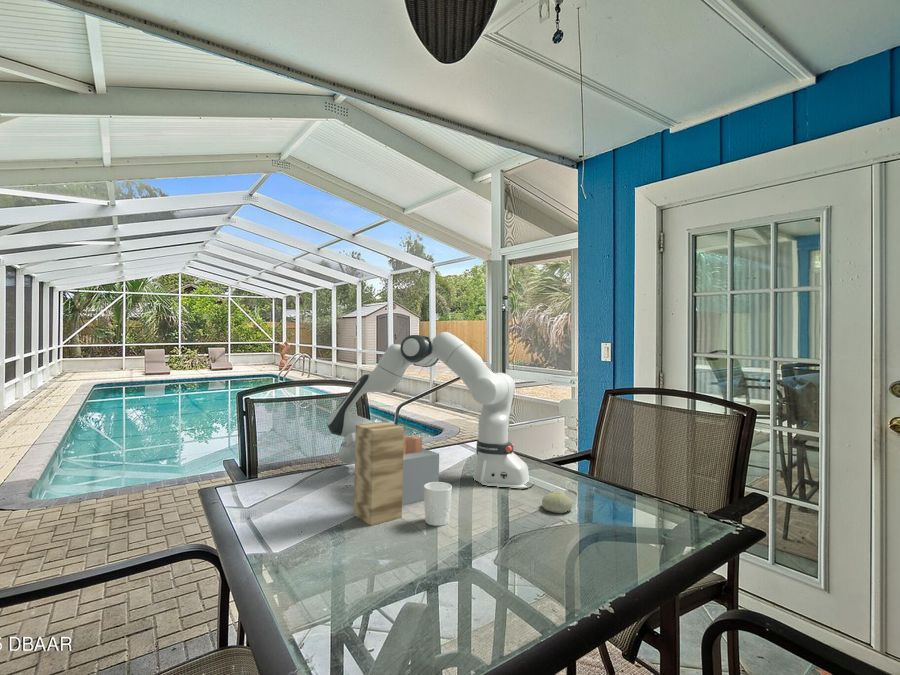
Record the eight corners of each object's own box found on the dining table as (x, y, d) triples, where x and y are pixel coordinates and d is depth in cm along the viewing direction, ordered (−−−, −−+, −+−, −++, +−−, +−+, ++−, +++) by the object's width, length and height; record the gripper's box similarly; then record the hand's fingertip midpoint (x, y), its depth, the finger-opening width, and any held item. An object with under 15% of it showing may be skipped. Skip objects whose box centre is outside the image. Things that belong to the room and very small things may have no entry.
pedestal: (401, 517, 136) (403, 426, 136) (371, 525, 130) (373, 430, 130) (383, 507, 144) (385, 421, 144) (353, 514, 137) (355, 424, 137)
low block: (438, 496, 154) (439, 453, 154) (399, 506, 145) (400, 460, 145) (407, 482, 168) (407, 443, 168) (369, 490, 159) (370, 448, 159)
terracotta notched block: (421, 451, 157) (422, 437, 157) (398, 455, 151) (399, 441, 151) (395, 442, 169) (395, 429, 169) (373, 445, 163) (373, 432, 163)
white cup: (448, 528, 129) (448, 491, 129) (420, 525, 131) (420, 489, 131) (453, 517, 137) (454, 483, 137) (427, 515, 138) (427, 480, 138)
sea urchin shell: (536, 505, 143) (542, 482, 148) (542, 518, 148) (547, 495, 153) (567, 511, 139) (572, 487, 144) (571, 524, 143) (576, 500, 148)
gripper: (337, 438, 171) (353, 424, 162) (385, 431, 184) (403, 418, 175) (340, 455, 169) (357, 442, 159) (389, 447, 182) (407, 435, 173)
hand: (382, 429), depth 167 cm, fingers open, 8 cm apart
